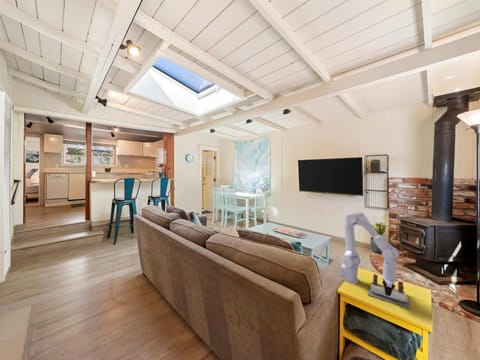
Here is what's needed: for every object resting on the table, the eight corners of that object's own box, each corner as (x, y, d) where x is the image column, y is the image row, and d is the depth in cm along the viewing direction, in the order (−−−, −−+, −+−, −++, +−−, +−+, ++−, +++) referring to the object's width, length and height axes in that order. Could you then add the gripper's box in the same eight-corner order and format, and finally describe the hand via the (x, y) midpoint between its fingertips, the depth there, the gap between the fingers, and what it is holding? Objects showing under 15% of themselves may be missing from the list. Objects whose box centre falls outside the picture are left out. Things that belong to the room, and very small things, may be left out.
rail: (370, 291, 113) (370, 286, 113) (370, 288, 116) (371, 283, 116) (406, 302, 104) (407, 297, 104) (406, 299, 107) (406, 294, 106)
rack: (370, 287, 119) (371, 277, 119) (371, 283, 124) (371, 273, 124) (405, 298, 110) (406, 287, 110) (404, 293, 115) (405, 282, 114)
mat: (367, 295, 112) (367, 294, 112) (368, 288, 119) (368, 287, 119) (409, 309, 102) (409, 308, 102) (407, 300, 108) (407, 300, 108)
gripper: (399, 277, 101) (397, 303, 102) (397, 266, 113) (396, 290, 114) (382, 273, 105) (381, 298, 106) (382, 263, 117) (381, 285, 118)
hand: (387, 293), depth 110 cm, fingers closed on rail, 3 cm apart
